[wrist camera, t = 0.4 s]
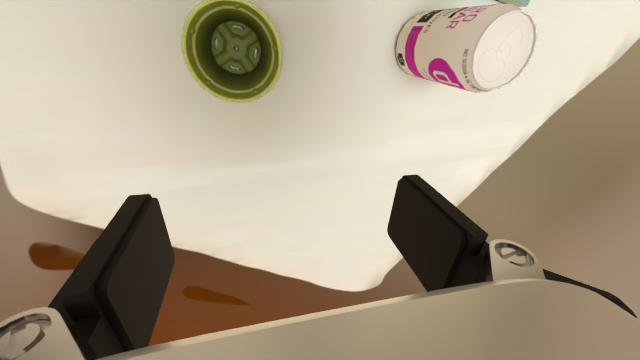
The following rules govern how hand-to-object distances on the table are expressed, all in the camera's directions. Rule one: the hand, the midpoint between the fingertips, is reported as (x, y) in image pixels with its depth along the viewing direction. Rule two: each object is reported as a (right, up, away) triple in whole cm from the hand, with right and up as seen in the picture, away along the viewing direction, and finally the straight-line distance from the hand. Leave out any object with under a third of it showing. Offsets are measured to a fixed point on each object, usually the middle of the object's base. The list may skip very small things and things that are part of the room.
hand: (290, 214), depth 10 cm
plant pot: (-9, +18, +23) cm, 31 cm away
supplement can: (+16, +21, +28) cm, 38 cm away
